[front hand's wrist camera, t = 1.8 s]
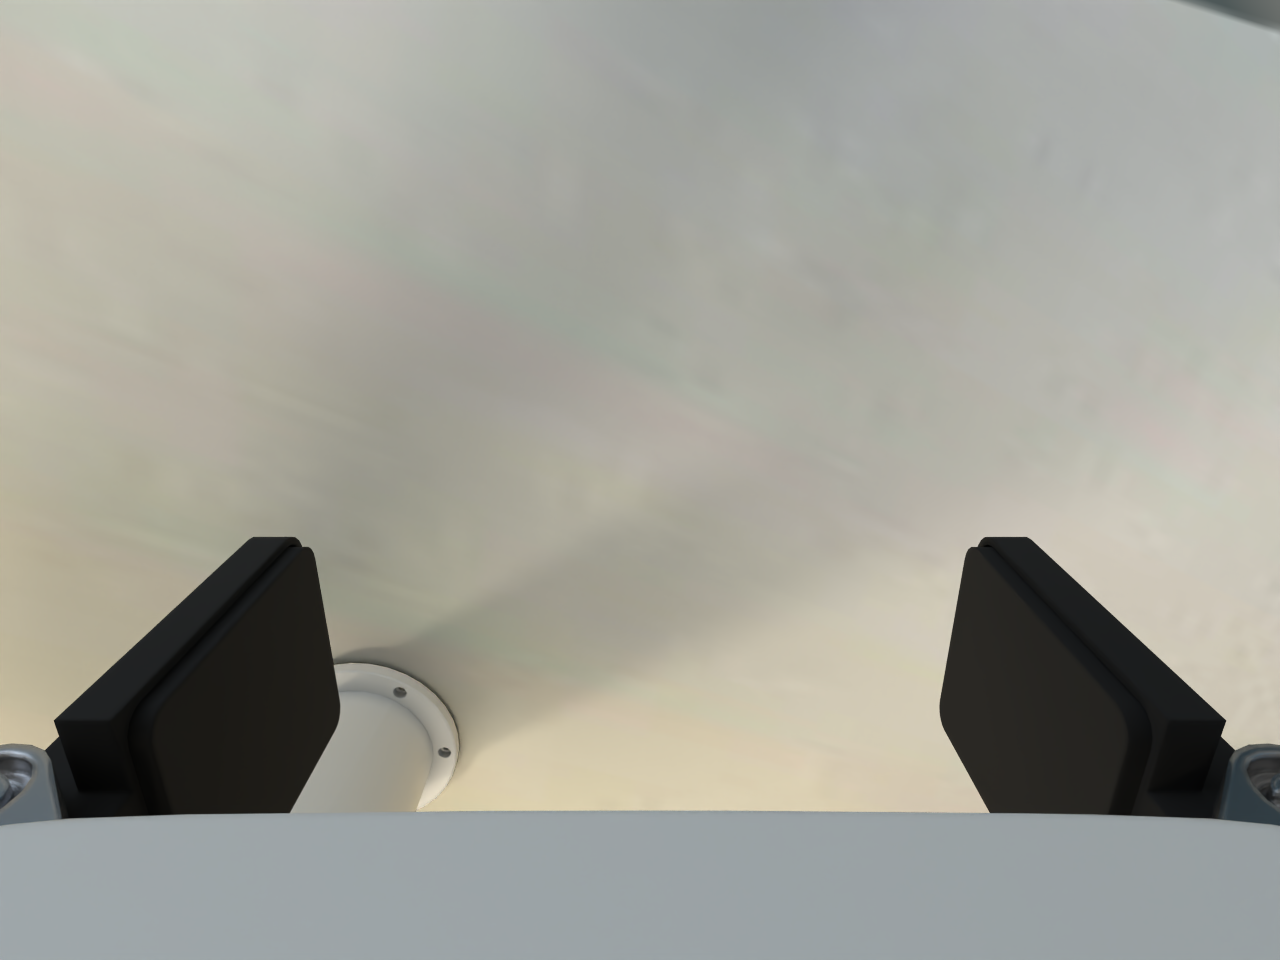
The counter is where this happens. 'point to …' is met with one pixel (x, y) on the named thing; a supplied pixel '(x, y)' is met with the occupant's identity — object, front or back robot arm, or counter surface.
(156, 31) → the counter surface
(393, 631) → the counter surface
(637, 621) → the counter surface
